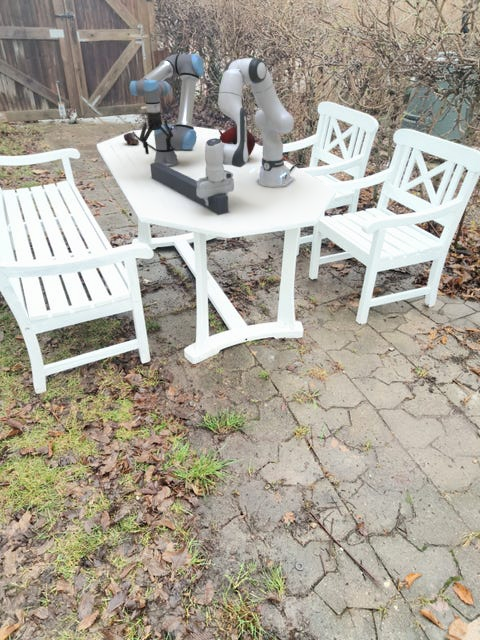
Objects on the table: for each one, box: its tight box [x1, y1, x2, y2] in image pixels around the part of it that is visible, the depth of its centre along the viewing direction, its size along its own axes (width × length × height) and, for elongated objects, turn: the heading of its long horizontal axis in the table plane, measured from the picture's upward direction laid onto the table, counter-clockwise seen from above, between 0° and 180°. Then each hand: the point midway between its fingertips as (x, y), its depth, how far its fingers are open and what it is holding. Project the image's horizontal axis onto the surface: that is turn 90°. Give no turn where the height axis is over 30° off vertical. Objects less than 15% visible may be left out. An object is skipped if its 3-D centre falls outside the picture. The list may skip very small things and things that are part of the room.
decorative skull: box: [218, 126, 257, 158], centre depth 296 cm, size 21×24×25 cm
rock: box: [123, 132, 140, 145], centre depth 336 cm, size 12×9×10 cm
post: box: [149, 162, 229, 215], centre depth 244 cm, size 74×6×8 cm, turn 35°
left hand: (158, 152), depth 258 cm, fingers open, 13 cm apart
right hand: (215, 203), depth 224 cm, fingers open, 8 cm apart
